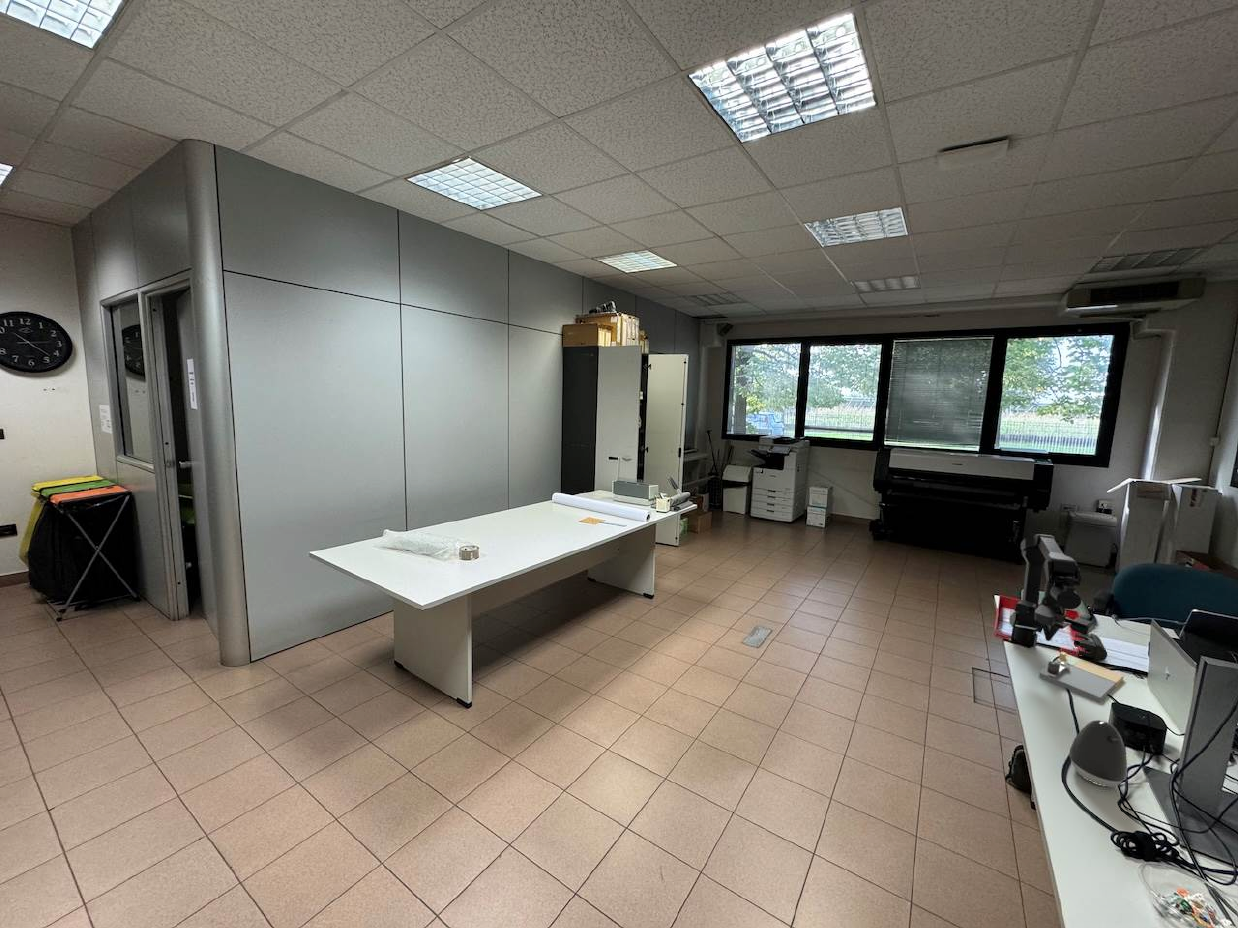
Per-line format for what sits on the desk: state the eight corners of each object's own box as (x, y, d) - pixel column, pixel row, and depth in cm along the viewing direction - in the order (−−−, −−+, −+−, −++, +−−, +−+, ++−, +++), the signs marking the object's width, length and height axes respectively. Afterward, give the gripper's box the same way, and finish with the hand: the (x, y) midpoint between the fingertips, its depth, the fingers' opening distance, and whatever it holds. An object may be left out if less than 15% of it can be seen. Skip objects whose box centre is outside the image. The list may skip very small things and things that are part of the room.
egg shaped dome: (1079, 788, 119) (1090, 732, 116) (1058, 757, 129) (1068, 705, 126) (1134, 800, 116) (1147, 743, 113) (1108, 767, 125) (1119, 714, 123)
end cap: (1105, 665, 170) (1109, 647, 169) (1077, 659, 174) (1081, 641, 173) (1098, 652, 178) (1102, 635, 177) (1072, 646, 182) (1075, 629, 181)
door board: (1038, 676, 163) (1040, 666, 163) (1064, 657, 175) (1066, 648, 174) (1099, 702, 151) (1101, 691, 150) (1122, 679, 162) (1125, 669, 161)
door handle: (1058, 663, 168) (1060, 652, 167) (1071, 667, 165) (1073, 656, 164) (1044, 674, 162) (1046, 662, 161) (1056, 679, 159) (1058, 667, 158)
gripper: (1010, 590, 162) (1003, 634, 165) (1085, 614, 146) (1076, 661, 149) (1024, 583, 168) (1017, 625, 170) (1098, 605, 152) (1089, 651, 155)
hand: (1048, 640), depth 161 cm, fingers closed
